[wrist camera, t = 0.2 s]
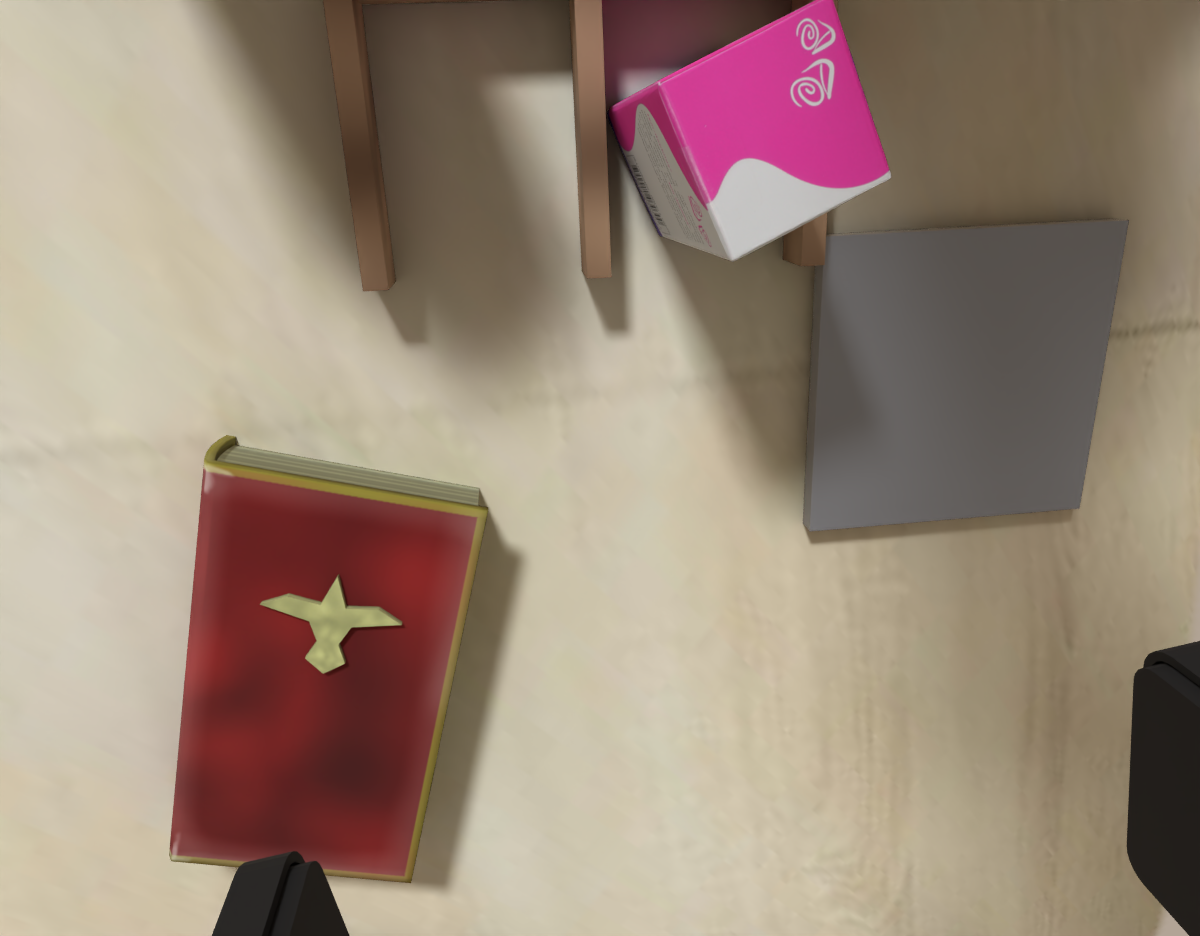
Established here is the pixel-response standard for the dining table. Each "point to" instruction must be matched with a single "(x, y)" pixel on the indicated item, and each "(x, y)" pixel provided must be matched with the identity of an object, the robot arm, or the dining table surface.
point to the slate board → (957, 370)
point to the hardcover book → (319, 660)
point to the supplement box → (753, 136)
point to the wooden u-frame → (589, 131)
